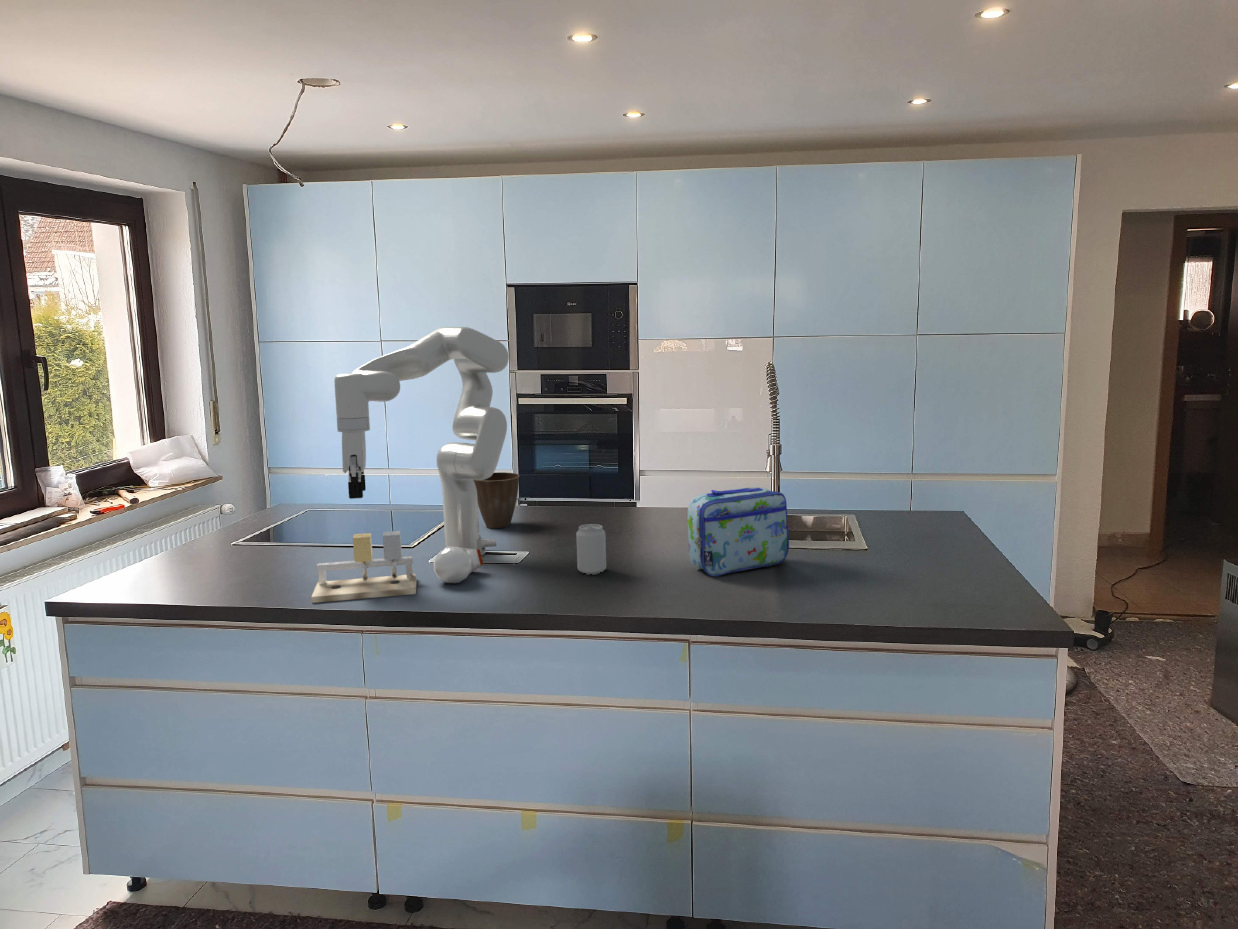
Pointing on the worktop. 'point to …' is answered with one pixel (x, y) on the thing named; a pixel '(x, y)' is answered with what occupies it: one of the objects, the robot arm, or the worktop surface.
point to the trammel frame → (390, 559)
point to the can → (591, 549)
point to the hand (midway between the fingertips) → (357, 494)
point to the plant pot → (497, 498)
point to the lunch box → (737, 530)
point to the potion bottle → (456, 563)
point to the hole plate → (364, 588)
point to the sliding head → (363, 551)
